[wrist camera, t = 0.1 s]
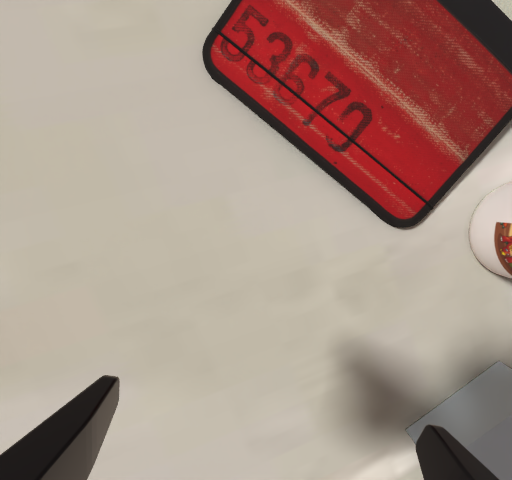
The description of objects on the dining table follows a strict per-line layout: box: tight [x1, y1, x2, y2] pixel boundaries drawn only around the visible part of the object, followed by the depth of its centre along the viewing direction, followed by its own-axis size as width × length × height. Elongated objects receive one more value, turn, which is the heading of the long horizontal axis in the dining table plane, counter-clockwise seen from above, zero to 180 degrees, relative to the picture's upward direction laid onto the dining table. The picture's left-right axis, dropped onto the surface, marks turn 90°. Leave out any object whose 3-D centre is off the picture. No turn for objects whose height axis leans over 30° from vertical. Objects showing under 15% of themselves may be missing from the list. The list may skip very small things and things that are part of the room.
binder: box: [203, 0, 512, 227], centre depth 22 cm, size 16×2×21 cm
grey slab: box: [406, 361, 512, 480], centre depth 25 cm, size 10×10×4 cm
